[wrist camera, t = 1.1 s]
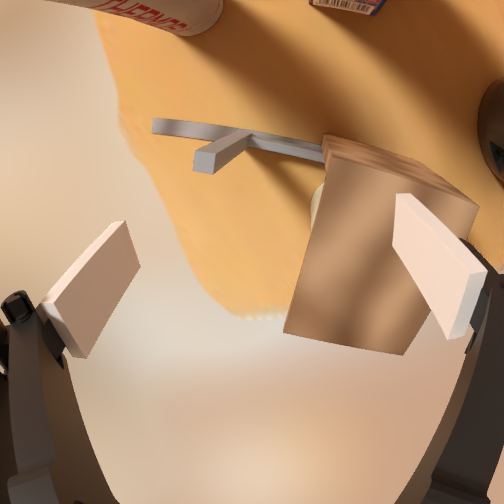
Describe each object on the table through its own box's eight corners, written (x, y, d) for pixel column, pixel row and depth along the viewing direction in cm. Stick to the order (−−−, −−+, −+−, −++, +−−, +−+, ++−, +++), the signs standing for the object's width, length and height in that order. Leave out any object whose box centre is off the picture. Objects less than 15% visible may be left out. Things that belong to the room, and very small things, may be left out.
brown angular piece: (425, 164, 31) (488, 210, 18) (386, 272, 39) (411, 356, 25) (154, 106, 34) (70, 121, 20) (148, 216, 42) (82, 273, 28)
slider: (413, 174, 32) (462, 219, 20) (381, 265, 38) (402, 339, 26) (238, 130, 33) (195, 150, 21) (224, 228, 40) (184, 289, 28)
